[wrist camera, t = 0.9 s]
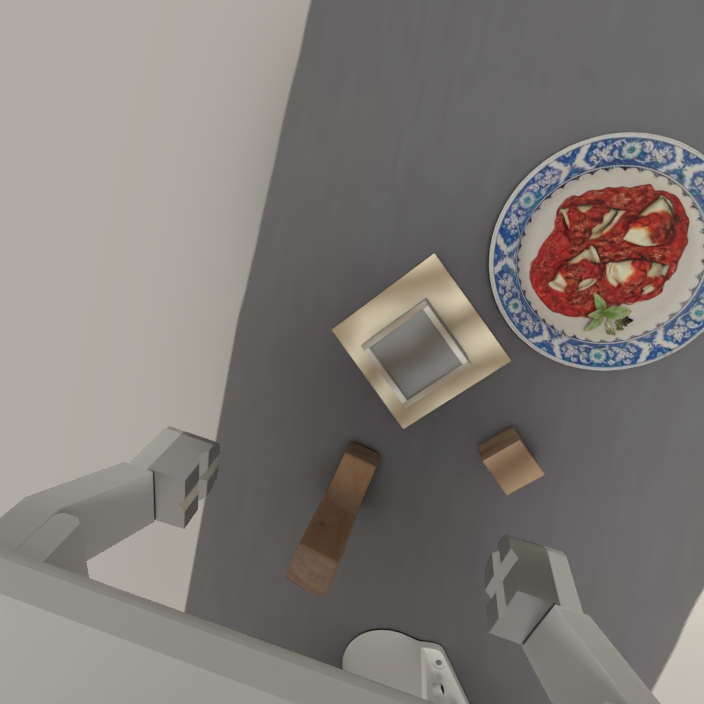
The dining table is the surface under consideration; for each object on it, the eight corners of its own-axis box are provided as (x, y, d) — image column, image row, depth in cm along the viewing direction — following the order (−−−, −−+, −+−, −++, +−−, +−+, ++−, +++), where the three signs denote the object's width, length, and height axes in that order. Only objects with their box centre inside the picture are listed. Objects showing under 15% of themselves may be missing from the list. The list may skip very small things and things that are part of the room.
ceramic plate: (517, 125, 47) (522, 114, 45) (769, 156, 43) (793, 147, 40) (464, 341, 52) (466, 345, 49) (686, 388, 48) (702, 395, 45)
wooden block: (351, 439, 57) (314, 506, 40) (381, 453, 56) (357, 527, 39) (328, 493, 59) (283, 579, 42) (356, 507, 58) (323, 600, 41)
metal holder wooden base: (509, 358, 51) (527, 375, 41) (404, 425, 55) (397, 455, 45) (434, 254, 51) (434, 246, 41) (334, 328, 55) (312, 337, 45)
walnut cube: (534, 457, 53) (544, 474, 48) (500, 476, 54) (506, 495, 49) (512, 425, 53) (519, 439, 48) (478, 445, 54) (482, 461, 49)
